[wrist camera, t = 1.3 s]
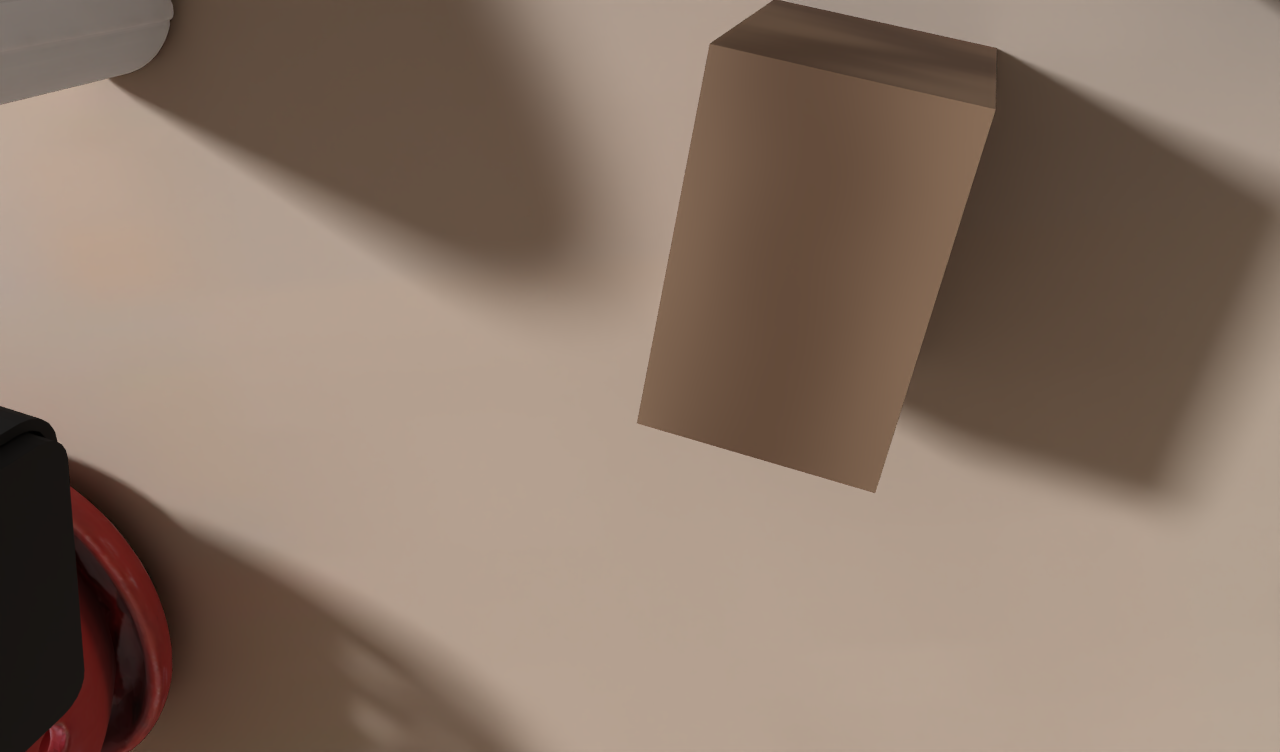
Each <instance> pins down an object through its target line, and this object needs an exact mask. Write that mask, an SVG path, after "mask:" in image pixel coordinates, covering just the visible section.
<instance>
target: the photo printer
mask: <svg viewBox="0 0 1280 752" xmlns="http://www.w3.org/2000/svg"><path fill="white" fill-rule="evenodd" d="M173 14H174V11H173V5H172V2H171V0H0V105H1V104H5V103H10V102H14V101H18V100H22V99H26V98H30V97H34V96H39V95H43V94H47V93H51V92H55V91H59V90H63V89H67V88H71V87H75V86H79V85H83V84H87V83H92V82H96V81H100V80H104V79H108V78H112V77H116V76H120V75H124V74H128V73H131V72H133V71H136V70H138V69H140V68H142V67H143V66H145V65H146V64H147V63H149V62H150V61H151V60H152V59H153V58H154V57H155V56H156V55H157V53H158V52H159V50H160V49H161V47H162V45H163V43H164V41H165V39H166V37H167V34H168V31H169V27H170V20H171V19H172V18H173Z"/></svg>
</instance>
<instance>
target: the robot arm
mask: <svg viewBox="0 0 1280 752" xmlns="http://www.w3.org/2000/svg"><path fill="white" fill-rule="evenodd" d="M84 672H85V668H84V656H83V643H82V631H81V618H80V605H79V593H78V580H77V568H76V555H75V542H74V530H73V517H72V504H71V492H70V479H69V467H68V457H67V453H66V450H65V448H64V447H63V446H62V444H60V443H58V442H57V438H56V434H55V431H54V430H53V428H52V427H51V425H50V424H49V423H48V422H46V421H44V420H42V419H39V418H36V417H33V416H30V415H26V414H23V413H20V412H17V411H14V410H11V409H7V408H4V407H1V406H0V752H26V751H27V750H28V749H29V748H30V747H31V746H32V745H33V744H34V743H35V742H36V741H37V740H38V739H39V738H40V737H41V736H42V735H44V734H45V733H46V732H47V731H48V730H49V729H50V728H51V727H52V726H53V725H54V724H55V723H56V722H57V721H58V720H59V719H60V718H61V717H62V716H64V715H65V713H66V712H67V711H68V710H69V709H70V708H71V706H72V705H73V703H74V702H75V700H76V699H77V697H78V695H79V692H80V690H81V688H82V684H83V681H84Z"/></svg>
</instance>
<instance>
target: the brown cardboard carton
mask: <svg viewBox="0 0 1280 752" xmlns="http://www.w3.org/2000/svg"><path fill="white" fill-rule="evenodd" d="M996 72H997V48H994V47H989V46H985V45H980V44H975V43H971V42H966V41H962V40H957V39H953V38H948V37H944V36H939V35H935V34H930V33H926V32H921V31H917V30H912V29H907V28H903V27H898V26H894V25H889V24H885V23H880V22H876V21H871V20H867V19H862V18H858V17H853V16H849V15H844V14H839V13H835V12H830V11H826V10H821V9H817V8H812V7H808V6H803V5H799V4H794V3H790V2H785V1H781V0H773V1H772V2H770V3H769V4H767V5H766V6H764V7H763V8H761V9H760V10H758V11H757V12H756V13H754V14H753V15H751V16H750V17H748V18H747V19H745V20H744V21H742V22H741V23H739V24H738V25H737V26H735V27H734V28H732V29H731V30H729V31H728V32H726V33H725V34H723V35H722V36H720V37H719V38H718V39H716V40H715V41H713V42H712V43H710V45H709V51H708V56H707V61H706V66H705V71H704V77H703V82H702V87H701V92H700V98H699V103H698V108H697V113H696V118H695V124H694V129H693V134H692V139H691V144H690V150H689V155H688V160H687V165H686V170H685V176H684V181H683V186H682V191H681V197H680V202H679V207H678V212H677V217H676V223H675V228H674V233H673V238H672V243H671V249H670V254H669V259H668V264H667V269H666V275H665V280H664V285H663V290H662V295H661V301H660V306H659V311H658V316H657V322H656V327H655V332H654V337H653V342H652V348H651V353H650V358H649V363H648V368H647V374H646V379H645V384H644V389H643V394H642V400H641V405H640V410H639V415H638V421H637V423H638V424H642V425H645V426H648V427H652V428H655V429H659V430H662V431H665V432H669V433H672V434H676V435H679V436H682V437H686V438H689V439H693V440H696V441H699V442H703V443H706V444H710V445H713V446H717V447H720V448H723V449H727V450H730V451H734V452H737V453H740V454H744V455H747V456H751V457H754V458H757V459H761V460H764V461H768V462H771V463H774V464H778V465H781V466H785V467H788V468H792V469H795V470H798V471H802V472H805V473H809V474H812V475H815V476H819V477H822V478H826V479H829V480H832V481H836V482H839V483H843V484H846V485H849V486H853V487H856V488H860V489H863V490H866V491H870V492H873V493H875V492H876V489H877V485H878V482H879V479H880V476H881V473H882V469H883V466H884V463H885V460H886V457H887V454H888V450H889V447H890V444H891V441H892V438H893V434H894V431H895V428H896V425H897V422H898V419H899V415H900V412H901V409H902V406H903V403H904V400H905V396H906V393H907V390H908V387H909V384H910V380H911V377H912V374H913V371H914V368H915V365H916V361H917V358H918V355H919V352H920V349H921V345H922V342H923V339H924V336H925V333H926V330H927V326H928V323H929V320H930V317H931V314H932V311H933V307H934V304H935V301H936V298H937V295H938V291H939V288H940V285H941V282H942V279H943V276H944V272H945V269H946V266H947V263H948V260H949V257H950V253H951V250H952V247H953V244H954V241H955V237H956V234H957V231H958V228H959V225H960V222H961V218H962V215H963V212H964V209H965V206H966V202H967V199H968V196H969V193H970V190H971V187H972V183H973V180H974V177H975V174H976V171H977V168H978V164H979V161H980V158H981V155H982V152H983V148H984V145H985V142H986V139H987V136H988V133H989V129H990V126H991V123H992V120H993V117H994V114H995V110H996Z"/></svg>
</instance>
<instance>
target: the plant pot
mask: <svg viewBox="0 0 1280 752" xmlns="http://www.w3.org/2000/svg"><path fill="white" fill-rule="evenodd" d="M70 492H71V504H72V517H73V530H74V542H75V555H76V568H77V580H78V593H79V605H80V618H81V631H82V643H83V656H84V668H85V672H84V681H83V684H82V688H81V690H80V692H79V695H78V697H77V699H76V700H75V702H74V703H73V705H72V706H71V708H70V709H69V710H68V711H67V712H66V713H65V715H64V716H62V717H61V718H60V719H59V720H58V721H57V722H56V723H55V724H54V725H53V726H52V727H51V728H50V729H49V730H48V731H47V732H46V733H45V734H44V735H42V736H41V737H40V738H39V739H38V740H37V741H36V742H35V743H34V744H33V745H32V746H31V747H30V748H29V749H28V750H27V751H26V752H129V751H131V750H132V749H133V748H134V747H136V746H137V745H138V744H139V743H140V742H141V741H142V740H143V739H144V738H145V737H146V736H147V735H148V733H149V732H150V731H151V729H152V728H153V726H154V725H155V723H156V722H157V720H158V718H159V716H160V714H161V712H162V710H163V707H164V705H165V702H166V699H167V696H168V692H169V688H170V683H171V677H172V648H171V641H170V635H169V630H168V625H167V621H166V618H165V614H164V611H163V608H162V605H161V602H160V599H159V597H158V594H157V592H156V590H155V588H154V586H153V584H152V581H151V579H150V577H149V575H148V573H147V572H146V570H145V568H144V566H143V565H142V563H141V561H140V560H139V558H138V557H137V555H136V554H135V552H134V551H133V550H132V548H131V547H130V545H129V544H128V543H127V541H126V540H125V539H124V537H123V536H122V535H121V534H120V532H119V531H118V530H117V529H116V527H115V526H114V525H113V524H112V523H111V522H110V521H109V520H108V519H107V518H106V517H105V516H104V515H103V514H102V513H101V512H100V511H99V510H98V509H97V508H96V507H95V506H94V505H93V504H92V503H90V502H89V501H88V500H87V499H86V498H85V497H83V496H82V495H81V494H80V493H78V492H77V491H76V490H75V489H73V488H72V487H70Z"/></svg>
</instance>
